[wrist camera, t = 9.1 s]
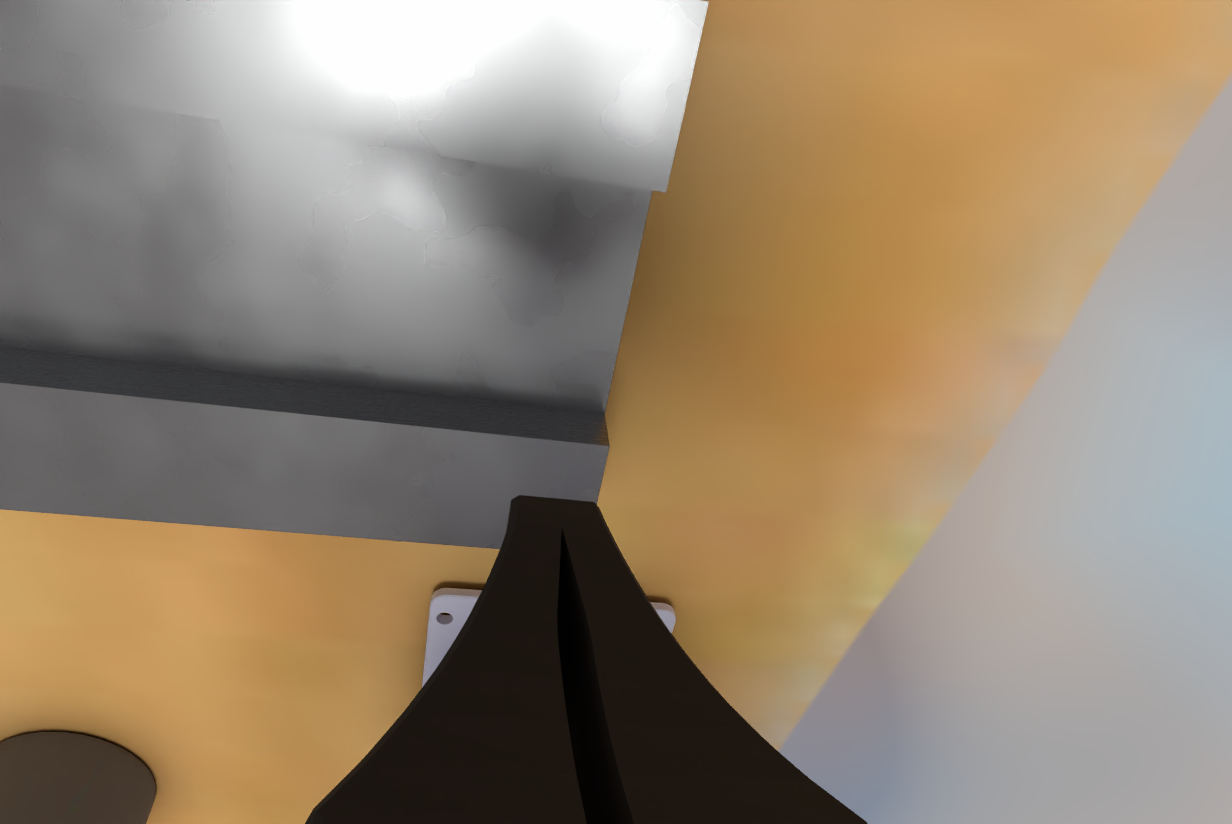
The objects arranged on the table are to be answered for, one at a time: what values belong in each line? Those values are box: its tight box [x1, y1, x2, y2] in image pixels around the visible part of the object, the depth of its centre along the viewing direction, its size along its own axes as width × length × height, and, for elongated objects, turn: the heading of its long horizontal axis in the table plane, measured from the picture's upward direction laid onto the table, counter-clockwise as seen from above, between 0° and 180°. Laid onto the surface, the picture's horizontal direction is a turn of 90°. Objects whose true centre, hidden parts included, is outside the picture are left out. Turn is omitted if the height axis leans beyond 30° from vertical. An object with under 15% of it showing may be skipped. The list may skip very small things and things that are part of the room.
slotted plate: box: [0, 0, 709, 549], centre depth 18 cm, size 14×18×3 cm
